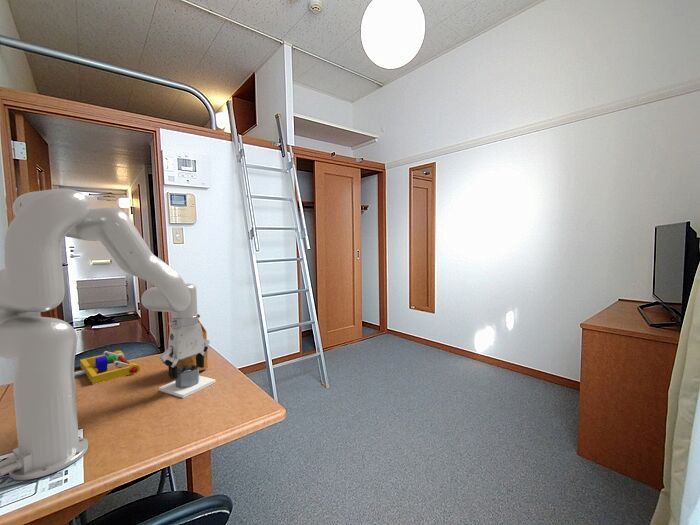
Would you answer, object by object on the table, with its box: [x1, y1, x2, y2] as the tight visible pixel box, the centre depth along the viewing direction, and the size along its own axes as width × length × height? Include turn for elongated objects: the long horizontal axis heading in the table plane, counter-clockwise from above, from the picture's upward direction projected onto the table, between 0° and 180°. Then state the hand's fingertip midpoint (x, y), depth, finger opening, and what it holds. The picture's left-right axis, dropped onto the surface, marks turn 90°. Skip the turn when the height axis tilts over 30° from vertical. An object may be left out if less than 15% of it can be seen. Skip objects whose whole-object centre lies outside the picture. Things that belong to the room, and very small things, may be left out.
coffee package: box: [175, 313, 209, 372], centre depth 117 cm, size 10×12×22 cm
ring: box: [174, 365, 200, 388], centre depth 104 cm, size 7×7×5 cm
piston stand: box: [158, 370, 216, 399], centre depth 104 cm, size 12×12×5 cm
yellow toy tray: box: [74, 350, 141, 385], centre depth 119 cm, size 18×6×30 cm
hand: (187, 372), depth 104 cm, fingers open, 9 cm apart
